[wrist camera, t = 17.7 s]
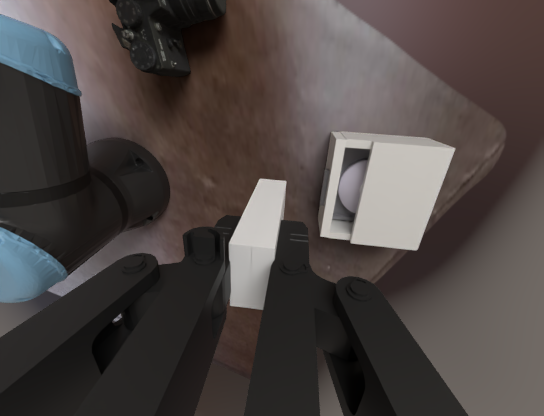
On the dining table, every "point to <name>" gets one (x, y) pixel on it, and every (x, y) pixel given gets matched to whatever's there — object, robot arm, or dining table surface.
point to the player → (395, 190)
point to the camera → (161, 31)
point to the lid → (352, 184)
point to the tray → (336, 182)
